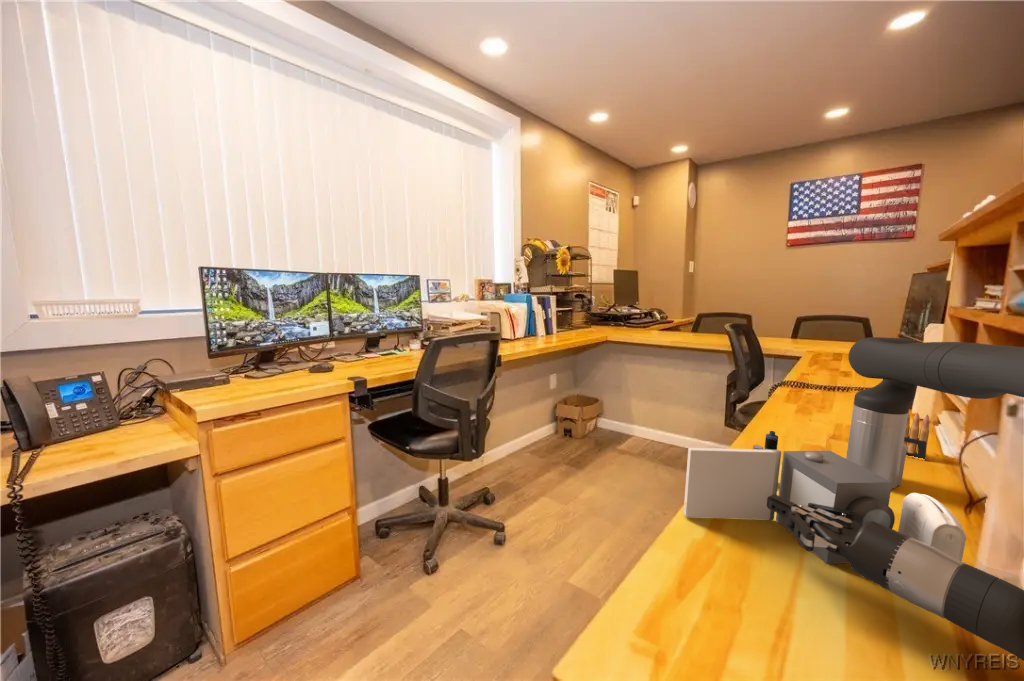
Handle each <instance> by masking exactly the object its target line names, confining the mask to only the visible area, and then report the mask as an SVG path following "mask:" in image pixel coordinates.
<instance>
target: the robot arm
mask: <svg viewBox="0 0 1024 681" xmlns="http://www.w3.org/2000/svg"><path fill="white" fill-rule="evenodd" d="M847 358H848V363H849V365H850V367H851V369H852V370H854V372H855V373H856V374H858V375H859V376H861V377H863V378H868V379H876V380H879V379H880V380H881V382H879V383H878V384H876V385H874V386H873V387H870V388H866V389H863V390H860V391H857V392H856V393H855V395H854V398H853V405H852V412H851V419H850V427H849V428H850V429H849V435H848V440H847V441H848V442H847V447H846V448H847V449H846V455H845V456H846V457H845V458H846V459H848V460H850V461H851V462H853V463H855V464H857V465H859V466H861V467H863V468H865V469H867V470H869V471H871V472H873V473H875V474H877V475H879V476H881V477H883V478H885V479H887V480H889V481H891V482H892V487H891V490H892V489H895V488H897V487H898V486H902V481H903V476H904V469H905V464H906V458H907V457H906V452H907V446H908V444H907V445H906V444H904V437H905V431H906V424H907V418H908V412H909V413H910V407H911V405H912V404H913V403H914V401H915V399H916V393H917V388H918V387H921V388H924V389H929V390H933V391H937V392H941V393H944V394H949V395H953V396H959V397H963V398H969V399H978V400H987V399H988V400H989V399H994V398H995V399H996V398H998V397H1001V396H1004V395H1006V394H1008V395H1013V396H1016V397H1021V398H1024V347H1023V346H1013V345H1002V344H1000V345H999V344H986V343H978V342H963V341H962V342H961V341H931V342H930V341H928V342H926V341H925V342H916V341H915V340H914V339H911V338H905V337H882V336H881V337H880V336H876V337H875V336H871V337H865V338H862V339H860V340H859V339H858V340H857V341H856V342H855V343H854V344H853V345H852V346H851V347H850V349H849V351H848V357H847ZM767 507H768V508H769V509H770V510H772V511H774V512H775V514H777V513H778V514H780V515H782V516H784V517H786V518H788V524H787V528H788V529H789V530H790V532H791V533H792V534H791V533H790V532H789V533H790V534H791V535H792V536H793V537H794V539H795V540H796V541H797V542H798V543H799V545H800V546H801V547H802V548H803V549H804V550H805V551H808V552H812V551H813V547H814V546H815V547H824V548H825V549H826V550H827V551H829V552H830V553H833V554H836V555H839V556H842V557H844V558H846V559H847V560H848V562H849V563H848V564H849V567H850V569H851V570H852V571H853V572H854V573H855V574H857V575H859V576H861V577H863V578H864V579H866V580H868V581H870V582H872V583H873V584H876V585H878V586H879V587H882V588H883V589H885V590H886V591H888V592H891V593H893V594H894V595H895V596H898V597H900V598H902V599H903V600H904V601H907V602H909V603H911V604H912V605H914V606H916V607H918V608H920V609H923V610H925V611H927V612H929V613H932V614H934V615H936V616H939V617H940V618H943V619H945V620H947V621H949V622H950V623H953V624H954V625H956V626H958V627H960V629H963V630H965V631H967V632H969V633H971V634H972V635H974V636H976V637H978V638H980V639H982V640H984V641H986V642H988V643H990V644H992V645H994V646H996V647H999V648H1000V649H1002V650H1004V651H1006V652H1008V653H1010V654H1012V655H1014V656H1015V657H1017V658H1019V659H1020V660H1022V661H1023V662H1024V589H1023V588H1020V587H1019V586H1017V585H1014V584H1013V583H1011V582H1008V581H1006V580H1004V579H1002V578H999V577H997V576H995V575H993V574H990V573H989V572H986V571H984V570H981V569H979V568H977V567H974V566H972V565H970V564H967V563H965V562H964V561H963V560H962V561H959V560H958V559H956V558H954V557H952V556H950V555H948V554H947V553H945V552H943V551H941V550H939V549H936V548H934V547H932V546H930V545H927V544H925V543H923V542H920V541H918V540H916V539H913V538H911V537H909V536H907V535H904V534H902V533H900V532H898V530H895V529H893V528H892V529H891V528H888V527H886V526H884V525H881V524H879V523H877V522H873V521H870V522H867V523H865V524H864V525H862V524H860V523H858V522H856V521H855V513H854V512H852V511H849V510H844V509H839V508H834V507H829V506H824V505H819V504H814V503H808V506H805V505H803V504H795V503H793V502H791V501H788V500H786V499H784V498H782V497H780V496H779V494H777V495H775V494H774V495H771V496H769V497H768V498H767Z"/></svg>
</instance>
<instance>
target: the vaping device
mask: <svg viewBox="0 0 1024 681" xmlns="http://www.w3.org/2000/svg"><path fill="white" fill-rule="evenodd" d="M778 442H779V436H778V435H776V431H774V430H769V433H766V434H765V441H764V447H763V446H761V445H757V444H755V445H753V446H752V449H762V450H778V445H779V444H778Z"/></svg>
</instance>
